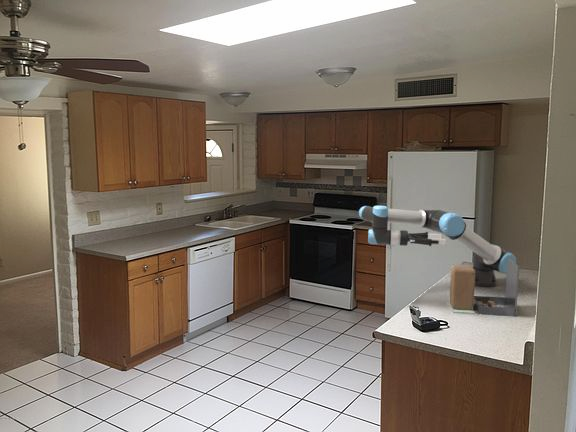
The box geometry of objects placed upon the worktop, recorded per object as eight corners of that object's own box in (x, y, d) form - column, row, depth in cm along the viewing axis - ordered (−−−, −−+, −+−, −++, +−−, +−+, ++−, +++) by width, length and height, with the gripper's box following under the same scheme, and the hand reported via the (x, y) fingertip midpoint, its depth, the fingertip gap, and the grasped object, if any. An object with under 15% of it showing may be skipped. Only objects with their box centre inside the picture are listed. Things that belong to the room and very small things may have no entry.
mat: (447, 302, 257) (447, 301, 257) (468, 303, 256) (468, 302, 256) (453, 312, 242) (453, 311, 242) (474, 313, 240) (474, 312, 240)
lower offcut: (473, 305, 254) (474, 300, 254) (481, 305, 253) (481, 301, 253) (479, 314, 241) (479, 309, 241) (486, 314, 241) (487, 309, 240)
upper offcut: (487, 300, 251) (492, 301, 250) (487, 307, 251) (492, 307, 251) (494, 308, 240) (499, 308, 240) (493, 314, 240) (498, 314, 240)
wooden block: (473, 310, 243) (475, 270, 240) (452, 309, 245) (454, 269, 242) (469, 304, 253) (472, 265, 250) (449, 303, 254) (451, 264, 251)
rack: (470, 303, 256) (473, 257, 252) (506, 304, 254) (509, 258, 250) (478, 314, 239) (481, 265, 236) (515, 316, 237) (519, 267, 233)
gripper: (397, 240, 263) (439, 241, 260) (400, 250, 239) (447, 252, 235) (398, 226, 262) (440, 227, 259) (401, 235, 238) (447, 236, 234)
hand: (443, 239), depth 247 cm, fingers open, 13 cm apart
